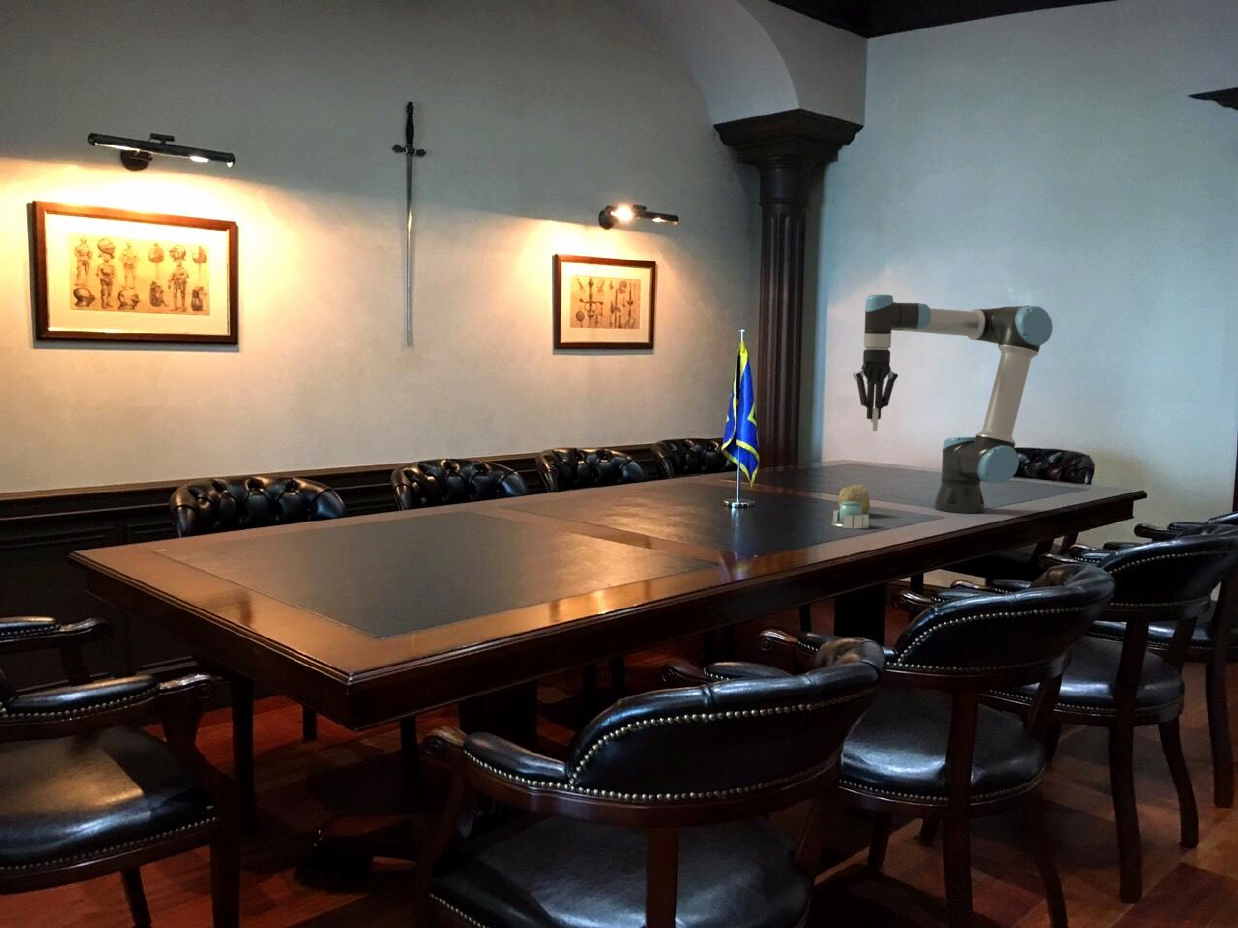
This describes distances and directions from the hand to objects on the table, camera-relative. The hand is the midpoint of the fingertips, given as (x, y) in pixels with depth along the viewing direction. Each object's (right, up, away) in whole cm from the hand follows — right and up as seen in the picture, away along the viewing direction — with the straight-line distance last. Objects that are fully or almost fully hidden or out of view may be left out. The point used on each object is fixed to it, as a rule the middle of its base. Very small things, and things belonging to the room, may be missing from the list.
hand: (873, 430), depth 300 cm
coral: (-3, -25, +13) cm, 29 cm away
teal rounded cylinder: (-8, -27, -7) cm, 29 cm away
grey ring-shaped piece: (-8, -27, -6) cm, 29 cm away
